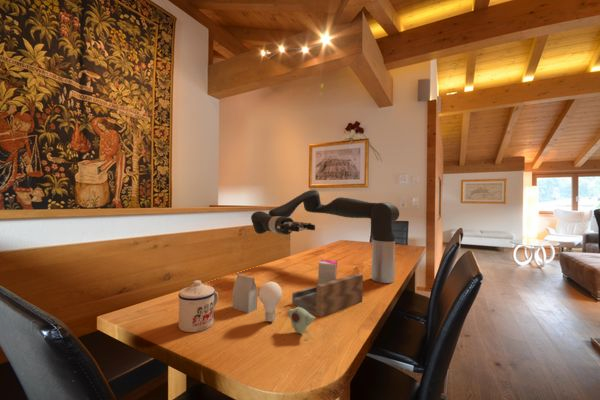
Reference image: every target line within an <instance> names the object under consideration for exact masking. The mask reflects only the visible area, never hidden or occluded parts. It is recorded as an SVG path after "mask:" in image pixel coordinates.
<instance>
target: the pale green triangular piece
mask: <svg viewBox="0 0 600 400" xmlns="http://www.w3.org/2000/svg"><path fill="white" fill-rule="evenodd" d="M287 316H288V317H289V318H290V321H291V326H292V328H293V330H294V331H295V332H296V333H298V334H303V333H304V332H305V331H306V330H307V328H308V326H310V325H311V324H312V323H313V322H314V320H315V319H316V317H317V316H316V317H315V316H314V314H312V313H310V312H308V311H306V310H305V309H303V308H301V307H298V306H297V307H295V308H292V309H291V308H290V309H288V310H287Z"/></svg>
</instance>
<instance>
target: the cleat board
mask: <svg viewBox="0 0 600 400" xmlns="http://www.w3.org/2000/svg"><path fill="white" fill-rule="evenodd" d="M363 283H364V274H362V273H356V274H352V275H351V274H350V275H348V276H344V277H340V278H336V280H332V281H329V282H325V283H321V284H318V283H317V284H316V285H315V286H312V287H308V288H305V289H301V290H297V291H293V292H292V295H291V297H292V299H291V300H292V301H291V302H292V303H291V304H292V305H294V306H297V307H301V308H303V309H305V310H306V311H307V312H308V313H310V314H312V315H315V316H316V317H319V318H323V317H326V316H328V315H331V314H333V313H336V312H338V311H341V310H344V309H347V308H349V307H352V306H354V305H357V304H359V303H361V302H363V291H364V290H363V287H364V286H363Z"/></svg>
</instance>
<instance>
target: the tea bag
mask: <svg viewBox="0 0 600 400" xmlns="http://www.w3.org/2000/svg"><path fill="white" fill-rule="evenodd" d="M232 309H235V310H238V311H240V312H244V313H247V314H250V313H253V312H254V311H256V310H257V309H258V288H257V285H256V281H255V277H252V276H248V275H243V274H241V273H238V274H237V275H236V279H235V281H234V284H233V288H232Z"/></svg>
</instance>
